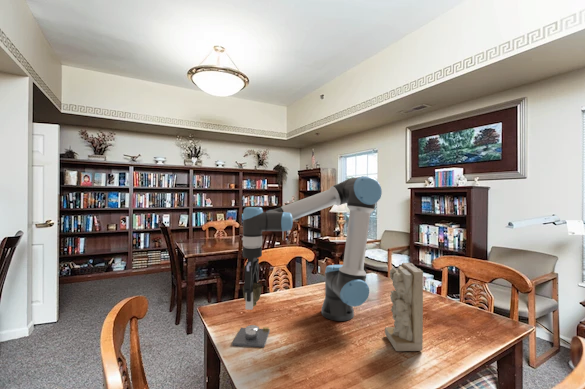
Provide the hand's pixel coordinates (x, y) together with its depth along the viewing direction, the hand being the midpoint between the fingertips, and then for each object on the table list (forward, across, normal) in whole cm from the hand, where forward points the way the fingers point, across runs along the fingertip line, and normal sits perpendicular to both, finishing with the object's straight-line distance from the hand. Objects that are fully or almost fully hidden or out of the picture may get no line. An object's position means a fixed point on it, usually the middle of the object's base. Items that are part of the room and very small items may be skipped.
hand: (251, 305), depth 109 cm
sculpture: (+13, -2, +58) cm, 60 cm away
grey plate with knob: (+13, 0, 0) cm, 13 cm away
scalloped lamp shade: (0, 0, 0) cm, 0 cm away
